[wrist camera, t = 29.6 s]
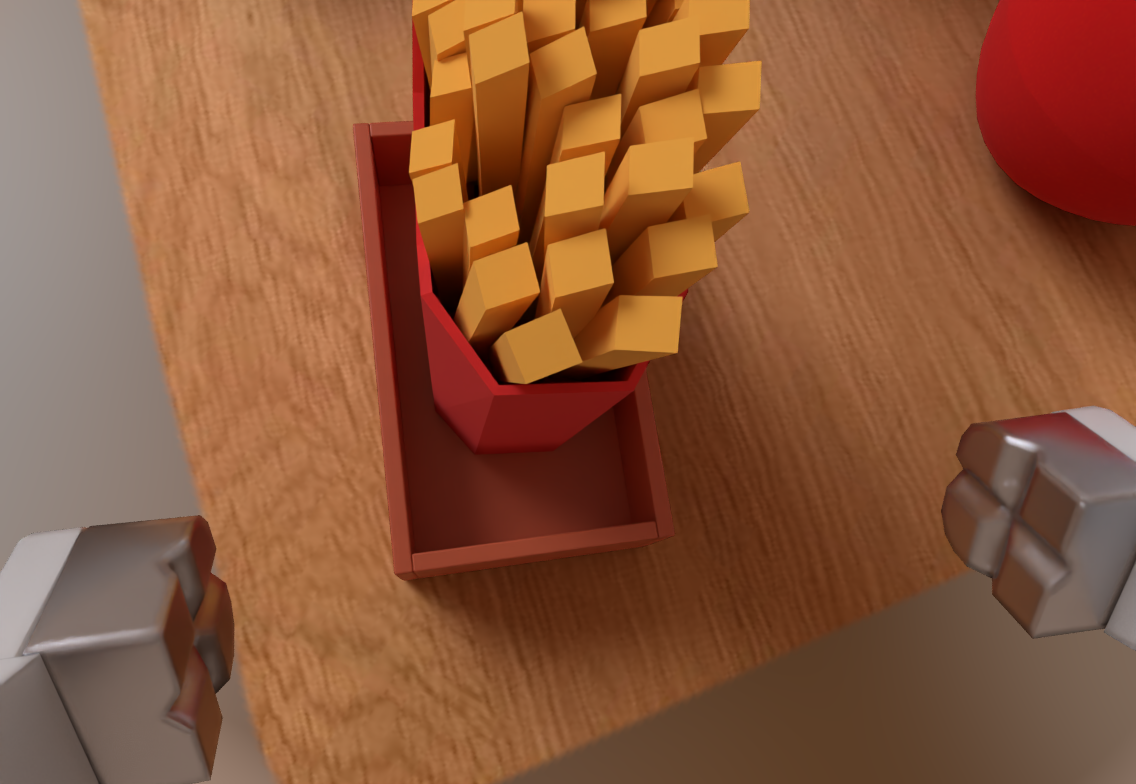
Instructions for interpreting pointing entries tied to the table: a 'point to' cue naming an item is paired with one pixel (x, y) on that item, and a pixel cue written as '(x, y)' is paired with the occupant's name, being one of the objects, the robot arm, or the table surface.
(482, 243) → the french fries
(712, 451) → the table surface
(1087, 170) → the tomato
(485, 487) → the terracotta tray
